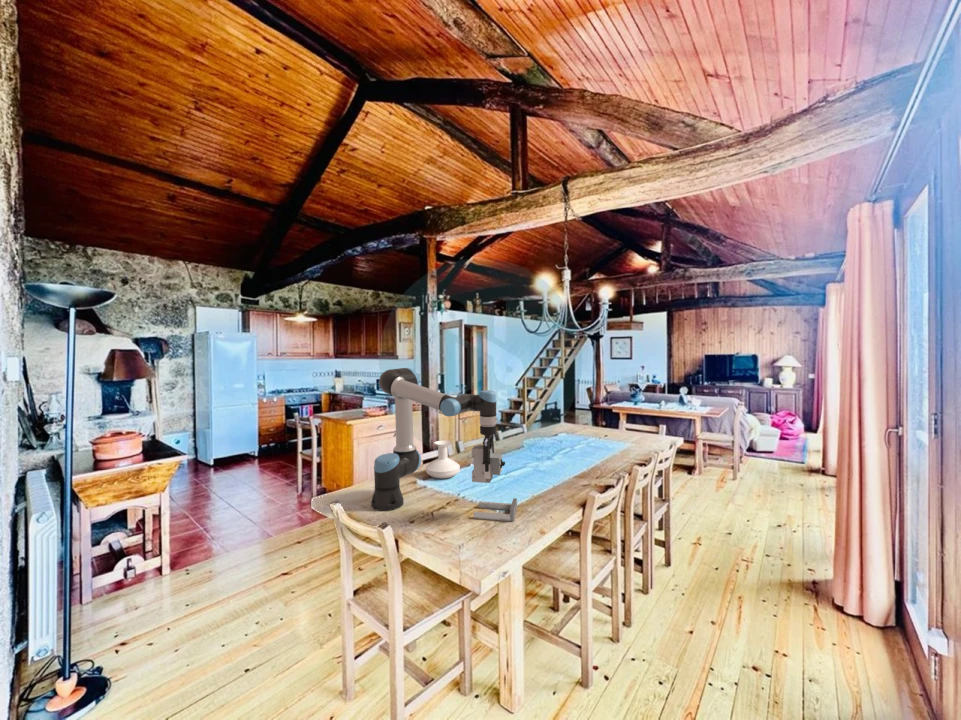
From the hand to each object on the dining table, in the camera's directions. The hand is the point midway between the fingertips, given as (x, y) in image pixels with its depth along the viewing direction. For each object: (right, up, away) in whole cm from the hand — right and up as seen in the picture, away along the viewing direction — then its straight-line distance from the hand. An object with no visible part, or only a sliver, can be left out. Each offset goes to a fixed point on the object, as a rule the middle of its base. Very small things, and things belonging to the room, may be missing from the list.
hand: (489, 475), depth 184 cm
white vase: (-26, -16, +54) cm, 62 cm away
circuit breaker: (0, -2, 0) cm, 2 cm away
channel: (+2, -17, +1) cm, 18 cm away
